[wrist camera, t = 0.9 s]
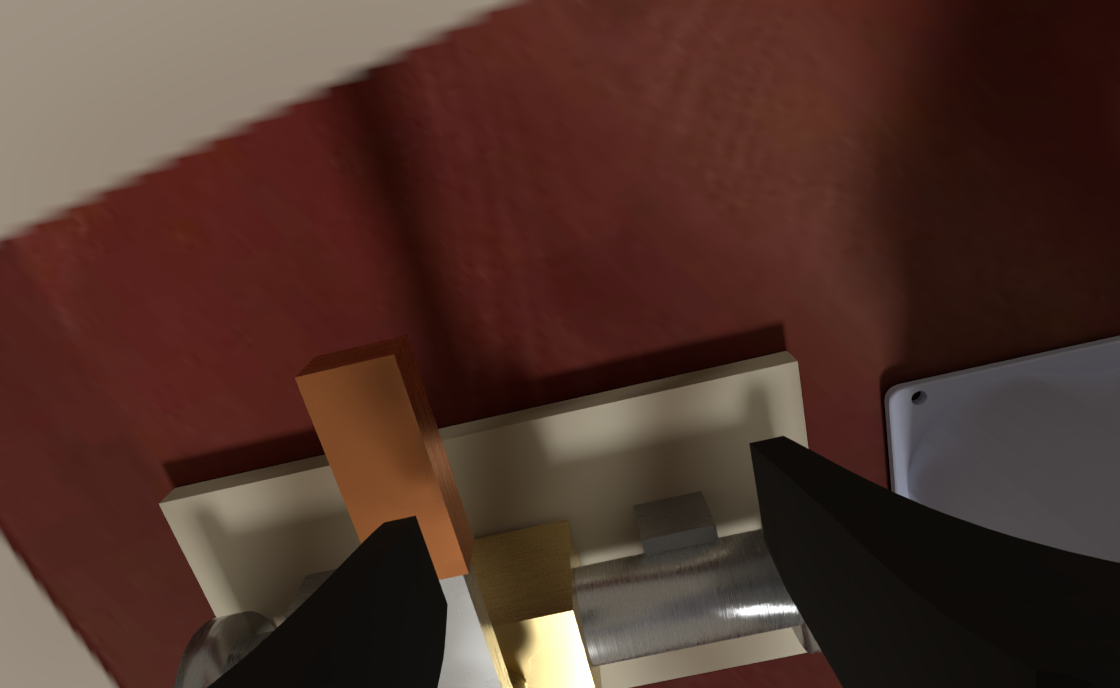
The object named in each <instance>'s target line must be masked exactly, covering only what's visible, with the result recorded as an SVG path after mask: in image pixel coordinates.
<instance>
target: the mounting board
mask: <svg viewBox="0 0 1120 688" xmlns="http://www.w3.org/2000/svg"><path fill="white" fill-rule="evenodd" d="M438 431H439V434H440V437H441V440H442V443H443V446H444V449H445V452H446V455H447V458H448V461H449V464H450V467H451V470H452V473H453V476H454V479H455V482H456V485H457V488H458V491H459V494H460V497H461V500H462V503H463V506H464V509H465V512H466V515H467V518H468V521H469V524H470V527H471V531H472V534H473V537H474V539H478V538H483V537H488V536H492V535H497V534H502V533H506V532H511V531H516V530H520V529H525V528H530V527H534V526H539V525H544V524H548V523H553V522H558V521H562V520H567V519H568V521H569V524H570V528H571V532H572V535H573V539H574V543H575V546H576V550H577V554H578V558H579V561H580V565H581V566H585V565H590V564H594V563H599V562H604V561H609V560H613V559H618V558H623V557H628V556H633V555H637V554H642V553H644V549H643V545H642V540H641V536H640V532H639V527H638V523H637V519H636V514H635V510H634V505H637V504H642V503H647V502H651V501H656V500H661V499H665V498H670V497H675V496H680V495H684V494H689V493H694V492H698V491H702V493H703V496H704V498H705V500H706V503H707V505H708V508H709V510H710V512H711V515H712V517H713V519H714V522H715V524H716V529H717V534H718V538H719V537H723V536H728V535H733V534H738V533H743V532H747V531H752V530H757V529H762V526H761V515H760V509H759V502H758V496H757V490H756V483H755V477H754V471H753V464H752V458H751V451H750V445H749V443H752V442H757V441H762V440H766V439H771V438H775V437H780V436H785V437H787V438H789V439H791V440H793V441H795V442H797V443H799V444H800V445H802V446H804V447H806V448H808V442H807V434H806V425H805V417H804V409H803V401H802V393H801V385H800V377H799V369H798V361H797V360H796V359H795V358H794V357H793V356H792V355H791V354H789V353H788V352H787V351H784V352H779V353H775V354H770V355H766V356H761V357H757V358H752V359H748V360H743V361H739V362H735V363H730V364H726V365H721V366H717V367H712V368H708V369H703V370H699V371H694V372H690V373H686V374H681V375H677V376H672V377H668V378H663V379H659V380H654V381H650V382H645V383H641V384H637V385H632V386H628V387H623V388H619V389H614V390H610V391H605V392H601V393H596V394H592V395H588V396H583V397H579V398H574V399H570V400H565V401H561V402H556V403H552V404H547V405H543V406H538V407H534V408H530V409H525V410H521V411H516V412H512V413H507V414H503V415H498V416H494V417H489V418H485V419H481V420H476V421H472V422H467V423H463V424H458V425H454V426H449V427H445V428H440V429H438ZM159 505H160V507H161V509H162V511H163V513H164V515H165V517H166V519H167V521H168V523H169V525H170V527H171V529H172V531H173V533H174V535H175V537H176V539H177V541H178V543H179V545H180V547H181V548H182V550H183V552H184V554H185V556H186V558H187V560H188V562H189V564H190V566H191V568H192V570H193V572H194V574H195V576H196V578H197V580H198V582H199V584H200V586H201V588H202V590H203V592H204V594H205V596H206V598H207V600H208V602H209V604H210V606H211V608H212V610H213V611H214V613H215V615H216V617H221V616H226V615H231V614H236V613H240V612H245V611H254V612H258V613H260V614H262V615H263V616H264V617H266V618H267V619H268V620H269V622H270V623H271V624H272V626H273V627H274V629H276V628H277V627H278V626H279V625H280V624H282V623H283V622H284V621H285V620H286V618H285V616H284V615H285V613H286V611H287V609H288V608H289V606H290V604H291V602H292V600H293V598H294V596H295V595H296V593H297V591H298V589H299V587H300V585H301V583H302V582H303V580H304V578H305V576H306V575H310V574H315V573H319V572H324V571H329V570H333V569H337V568H338V567H339V566H340V565H341V564H342V563H343V562H344V561H345V560H346V559H347V558H348V557H349V556H350V555H351V554H352V553H353V552H354V551H355V550H356V549H357V548H358V547H359V546H360V545H361V542H360V540H359V537H358V535H357V532H356V530H355V527H354V525H353V522H352V520H351V517H350V515H349V512H348V510H347V507H346V505H345V502H344V500H343V497H342V495H341V492H340V490H339V487H338V485H337V482H336V480H335V477H334V475H333V472H332V470H331V467H330V465H329V462H328V460H327V457H326V455H320V456H316V457H311V458H307V459H302V460H298V461H293V462H289V463H285V464H280V465H276V466H271V467H267V468H262V469H258V470H253V471H249V472H244V473H240V474H235V475H231V476H227V477H222V478H218V479H213V480H209V481H204V482H200V483H195V484H191V485H186V486H182V487H178V488H174V489H173V490H172V491H171V492H170V493H169V494H168V495H167V496H166V497H165V498H164V499H163V500H162V501H161V502H160V503H159ZM802 653H807V651H806V650H805V649H804V648H803V647H802V645H801V644H800V642H799V640H798V639H797V637H796V635H795V633H794V631H793V629H792V627H790V628H785V629H780V630H775V631H770V632H765V633H760V634H755V635H750V636H745V637H740V638H735V639H730V640H725V641H720V642H715V643H710V644H705V645H700V646H695V647H690V648H685V649H680V650H675V651H670V652H665V653H660V654H655V655H650V656H645V657H640V658H635V659H630V660H625V661H620V662H615V663H610V664H605V665H600V673H601V684H602V688H629V687H634V686H640V685H645V684H650V683H655V682H660V681H665V680H670V679H675V678H680V677H685V676H690V675H695V674H700V673H705V672H710V671H715V670H721V669H726V668H731V667H736V666H741V665H746V664H751V663H756V662H761V661H766V660H771V659H776V658H781V657H786V656H791V655H797V654H802Z"/></svg>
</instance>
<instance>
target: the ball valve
mask: <svg viewBox="0 0 1120 688" xmlns="http://www.w3.org/2000/svg"><path fill="white" fill-rule="evenodd" d="M634 510H635V514H636V519H637V523H638V527H639V532H640V536H641V540H642V545H643V549H644V553H642V554H637V555H633V556H628V557H623V558H618V559H613V560H609V561H604V562H599V563H594V564H590V565H585V566H581V565H580V561H579V558H578V554H577V550H576V546H575V543H574V539H573V535H572V532H571V528H570V524H569V521H568V519H567V520H562V521H558V522H553V523H548V524H544V525H539V526H534V527H530V528H525V529H520V530H516V531H511V532H506V533H502V534H497V535H492V536H488V537H483V538H478V539H474V540H475V541H474V547H473V552H472V558H471V565H472V568H473V571H474V574H475V577H476V580H477V583H478V586H479V589H480V592H481V595H482V598H483V601H484V604H485V607H486V610H487V613H488V616H489V619H490V622H491V625H492V628H493V631H494V633H495V636H496V639H497V642H498V645H499V648H500V651H501V654H502V657H503V660H504V663H505V666H506V669H507V672H508V675H509V678H510V681H511V684H512V687H513V688H602V684H601V673H600V665H605V664H610V663H615V662H620V661H625V660H630V659H635V658H640V657H645V656H650V655H655V654H660V653H665V652H670V651H675V650H680V649H685V648H690V647H695V646H700V645H705V644H710V643H715V642H720V641H725V640H730V639H735V638H740V637H745V636H750V635H755V634H760V633H765V632H770V631H775V630H780V629H785V628H790V627H792V629H793V631H794V633H795V635H796V637H797V639H798V640H799V642H800V644H801V645H802V647H803V648H804V649H805V650H806V651H807V652H808V653H810V654H812V653H817V652H822V650H821V649H820V647H819V645H818V644H817V642H816V640H815V639H814V637H813V635H812V633H811V632H810V630H809V628H808V627H807V625H806V623H805V621H804V620H803V618H802V616H801V614H800V613H799V611H798V609H797V608H796V606H795V604H794V602H793V601H792V599H791V597H790V595H789V594H788V592H787V590H786V588H785V586H784V584H783V582H782V579H781V577H780V575H779V573H778V570H777V568H776V566H775V563H774V561H773V558H772V556H771V554H770V551H769V549H768V547H767V544H766V542H765V539H764V534H763V528H762V529H757V530H752V531H747V532H743V533H738V534H733V535H728V536H723V537H719V538H718V534H717V529H716V524H715V522H714V519H713V517H712V515H711V512H710V510H709V508H708V505H707V503H706V500H705V498H704V496H703V493H702V491H698V492H694V493H689V494H684V495H680V496H675V497H670V498H665V499H661V500H656V501H651V502H647V503H642V504H637V505H634ZM761 526H762V522H761ZM335 570H336V569H333V570H329V571H324V572H319V573H315V574H310V575H306V576H305V578H304V580H303V582H302V583H301V585H300V587H299V589H298V591H297V593H296V595H295V596H294V598H293V600H292V602H291V604H290V606H289V608H288V609H287V611H286V613H285V615H284V616H285V618H286V619H287V618H288V617H289V616H290V615H291V614H292V613H293V612H294V611H295V610H296V609H297V608H298V607H299V606H300V605H301V604H303V603H304V602H305V601H306V600H307V599H308V598H309V597H310V596H311V595H312V594H313V593H314V592H315V591H316V590H317V589H318V588H319V587H320V586H321V585H322V584H323V583H324V582H325V581H326V580H327V579H328V578H329V577H330V575H331V574H332V573H333V572H334V571H335ZM274 630H275V629H274V627H273V626H272V624H271V623H270V622H269V620H268V619H267V618H266V617H264V616H263V615H262V614H260V613H258V612H254V611H245V612H240V613H236V614H231V615H226V616H221V617H217V618H214V619H212V620H210V621H208V622H206V623H205V624H204V625H202V626H201V627H200V628H199V629H198V630H197V632H196V633H195V634H194V636H193V637H192V638H191V640H190V642H189V643H188V645H187V647H186V649H185V651H184V653H183V656H182V659H181V661H180V664H179V668H178V671H177V676H176V681H175V687H174V688H207V687H208V686H210V685H211V684H212V683H213V682H215V681H216V680H217V679H218V678H219V677H221V676H222V675H223V674H224V673H226V672H227V671H228V670H229V669H231V668H232V667H233V666H234V665H235V664H237V663H238V662H239V661H240V660H242V659H243V658H244V657H245V656H246V655H247V654H249V653H250V652H251V651H252V650H253V649H254V648H256V647H257V646H258V645H259V644H260V643H261V642H262V641H263V640H265V639H266V638H267V637H268V636H269V635H270V634H271V633H272V632H273V631H274Z"/></svg>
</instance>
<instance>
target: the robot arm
mask: <svg viewBox="0 0 1120 688" xmlns="http://www.w3.org/2000/svg"><path fill="white" fill-rule="evenodd" d="M918 391H921V393H920V396H919V397H918V398H917V399H915V400H911V399H912V396H913V394H914V393H916V392H918ZM884 401H885V414H886V427H887V440H888V453H889V466H890V478H891V491H890V490H888V489H886V488H884V487H881V486H879V485H877V484H875V483H873V482H871V481H869V480H867V479H865V478H863V477H861V476H859V475H857V474H855V473H853V472H851V471H849V470H847V469H845V468H843V467H841V466H839V465H837V464H835V463H834V462H832V461H830V460H828V459H826V458H824V457H822V456H821V455H819V454H817V453H815V452H813V451H811V450H810V449H808V448H806V447H804V446H802V445H800V444H799V443H797V442H795V441H793V440H791V439H789V438H787V437H785V436H780V437H775V438H771V439H766V440H762V441H757V442H752V443H749V445H750V451H751V458H752V464H753V471H754V477H755V483H756V490H757V496H758V502H759V509H760V515H761V522H762V528H763V534H764V539H765V542H766V544H767V547H768V549H769V551H770V554H771V556H772V558H773V561H774V563H775V566H776V568H777V570H778V573H779V575H780V577H781V579H782V582H783V584H784V586H785V588H786V590H787V592H788V594H789V595H790V597H791V599H792V601H793V602H794V604H795V606H796V608H797V609H798V611H799V613H800V614H801V616H802V618H803V620H804V621H805V623H806V625H807V627H808V628H809V630H810V632H811V633H812V635H813V637H814V639H815V640H816V642H817V644H818V645H819V647H820V649H821V650H822V652H823V654H824V656H825V657H826V659H827V661H828V662H829V664H830V666H831V668H832V669H833V671H834V673H835V674H836V676H837V678H838V679H839V681H840V683H841V685H842V686H843V688H1120V336H1115V337H1111V338H1106V339H1102V340H1097V341H1093V342H1088V343H1083V344H1079V345H1074V346H1070V347H1065V348H1061V349H1056V350H1052V351H1047V352H1042V353H1038V354H1033V355H1029V356H1024V357H1020V358H1015V359H1011V360H1006V361H1001V362H997V363H992V364H988V365H983V366H979V367H974V368H969V369H965V370H960V371H956V372H951V373H947V374H942V375H938V376H933V377H928V378H924V379H919V380H915V381H910V382H906V383H901V384H897V385H895V386H892V387H891V388H890V389H889V390H888V391H887V393H886V395H885V400H884ZM447 608H448V604H447V601H446V598H445V595H444V593H443V590H442V587H441V584H440V582H439V579H438V576H437V573H436V570H435V568H434V565H433V562H432V559H431V557H430V554H429V551H428V548H427V545H426V543H425V540H424V537H423V534H422V532H421V529H420V526H419V523H418V520H417V518H416V516H411V517H407V518H402V519H398V520H393V521H388V522H384V523H383V524H382V525H381V526H379V527H378V528H377V529H376V530H375V531H374V532H373V533H372V534H371V535H370V536H369V537H368V538H367V539H366V540H365V541H364V542H363V543H362V544H361V545H360V546H359V547H358V548H357V549H356V550H355V551H354V552H353V553H352V554H351V555H350V556H349V557H348V558H347V559H346V560H345V561H344V562H343V563H342V564H341V565H340V566H339V567H338V568H337V569H336V570H335V571H334V572H333V573H332V574H331V575H330V577H329V578H328V579H327V580H326V581H325V582H324V583H323V584H322V585H321V586H320V587H319V588H318V589H317V590H316V591H315V592H314V593H313V594H312V595H311V596H310V597H309V598H308V599H307V600H306V601H305V602H304V603H303V604H301V605H300V606H299V607H298V608H297V609H296V610H295V611H294V612H293V613H292V614H291V615H290V616H289V617H288V618H287V619H286V620H285V621H284V622H283V623H282V624H280V625H279V626H278V627H277V628H276V629H275V630H274V631H273V632H272V633H271V634H270V635H269V636H268V637H267V638H266V639H265V640H263V641H262V642H261V643H260V644H259V645H258V646H257V647H256V648H254V649H253V650H252V651H251V652H250V653H249V654H247V655H246V656H245V657H244V658H243V659H242V660H240V661H239V662H238V663H237V664H235V665H234V666H233V667H232V668H231V669H229V670H228V671H227V672H226V673H224V674H223V675H222V676H221V677H219V678H218V679H217V680H216V681H215V682H213V683H212V684H211V685H210V686H208V687H207V688H438V683H439V678H440V674H441V669H442V663H443V658H444V649H445V638H446V624H447Z"/></svg>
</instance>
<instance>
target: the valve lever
mask: <svg viewBox="0 0 1120 688" xmlns="http://www.w3.org/2000/svg"><path fill="white" fill-rule="evenodd" d="M295 379H296V382H297V384H298V387H299V389H300V392H301V394H302V397H303V399H304V402H305V404H306V407H307V409H308V412H309V414H310V417H311V419H312V422H313V424H314V427H315V429H316V432H317V435H318V437H319V440H320V442H321V445H322V447H323V450H324V452H325V455H326V457H327V460H328V462H329V465H330V467H331V470H332V472H333V475H334V477H335V480H336V482H337V485H338V487H339V490H340V492H341V495H342V497H343V500H344V502H345V505H346V507H347V510H348V512H349V515H350V517H351V520H352V522H353V525H354V527H355V530H356V532H357V535H358V537H359V540H360V542H361V544H362V543H363V542H364V541H365V540H366V539H367V538H368V537H369V536H370V535H371V534H372V533H373V532H374V531H375V530H376V529H377V528H378V527H379V526H381V525H382V524H383V523H384V522H388V521H393V520H398V519H402V518H407V517H411V516H416V518H417V520H418V523H419V526H420V529H421V532H422V534H423V537H424V540H425V543H426V545H427V548H428V551H429V554H430V557H431V559H432V562H433V565H434V568H435V570H436V573H437V576H438V579H439V582H440V584H441V587H442V590H443V593H444V595H445V598H446V601H447V604H448V608H447V624H446V638H445V649H444V658H443V663H442V669H441V674H440V678H439V683H438V688H513V687H512V684H511V681H510V678H509V675H508V672H507V669H506V666H505V663H504V660H503V657H502V654H501V651H500V648H499V645H498V642H497V639H496V636H495V633H494V631H493V628H492V625H491V622H490V619H489V616H488V613H487V610H486V607H485V604H484V601H483V598H482V595H481V592H480V589H479V586H478V583H477V580H476V577H475V574H474V571H473V568H472V565H471V558H472V552H473V547H474V541H475V540H474V537H473V534H472V531H471V527H470V524H469V521H468V518H467V515H466V512H465V509H464V506H463V503H462V500H461V497H460V494H459V491H458V488H457V485H456V482H455V479H454V476H453V473H452V470H451V467H450V464H449V461H448V458H447V455H446V452H445V449H444V446H443V443H442V440H441V437H440V434H439V431H438V427H437V424H436V421H435V418H434V415H433V412H432V409H431V406H430V403H429V400H428V397H427V394H426V391H425V388H424V385H423V382H422V379H421V376H420V373H419V370H418V367H417V364H416V361H415V358H414V355H413V352H412V349H411V346H410V343H409V340H408V337H407V335H406V336H401V337H397V338H393V339H388V340H384V341H380V342H376V343H371V344H367V345H363V346H358V347H354V348H350V349H346V350H341V351H337V352H333V353H328V354H324V355H320V356H316V357H315V358H314V359H313V360H312V361H311V362H310V363H309V364H308V365H307V366H306V367H305V368H304V369H303V370H302V371H301V372H300V373H299V374H298V375H297V376H296V377H295Z"/></svg>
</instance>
